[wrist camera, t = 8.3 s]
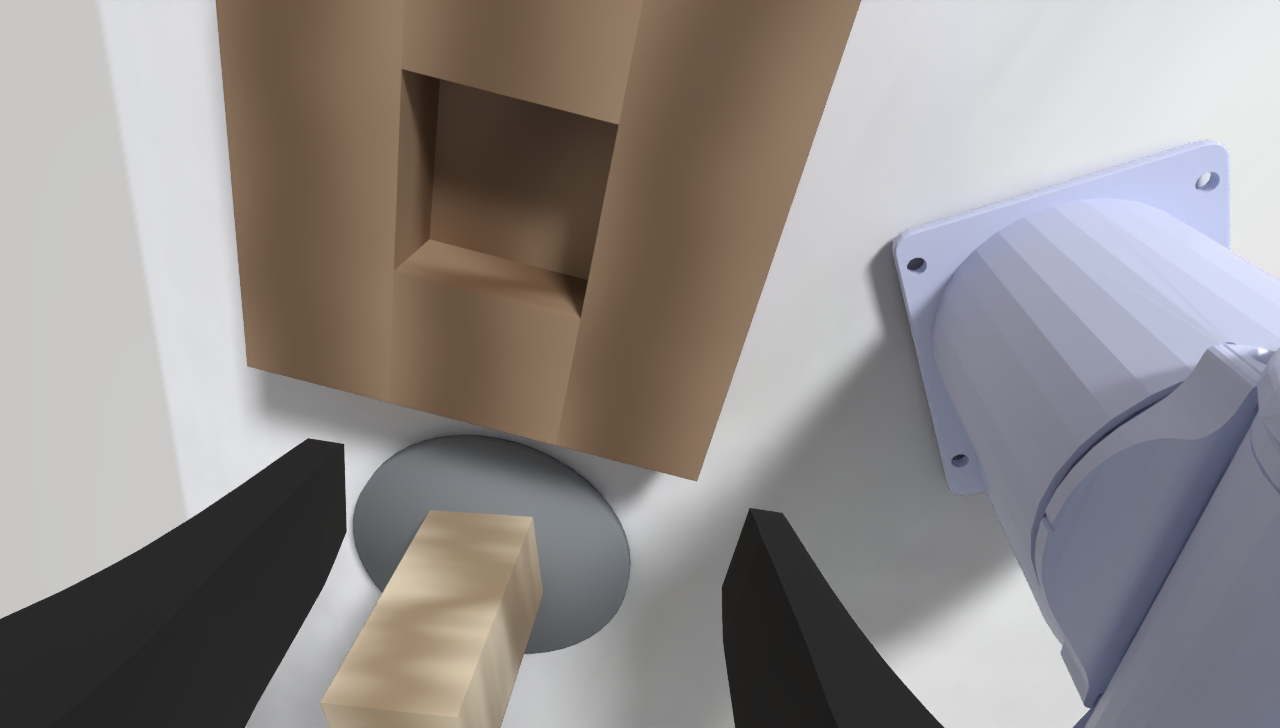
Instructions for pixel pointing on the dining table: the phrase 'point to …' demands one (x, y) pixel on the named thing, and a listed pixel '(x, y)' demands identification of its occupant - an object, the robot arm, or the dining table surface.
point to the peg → (444, 629)
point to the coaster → (504, 485)
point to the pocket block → (521, 202)
